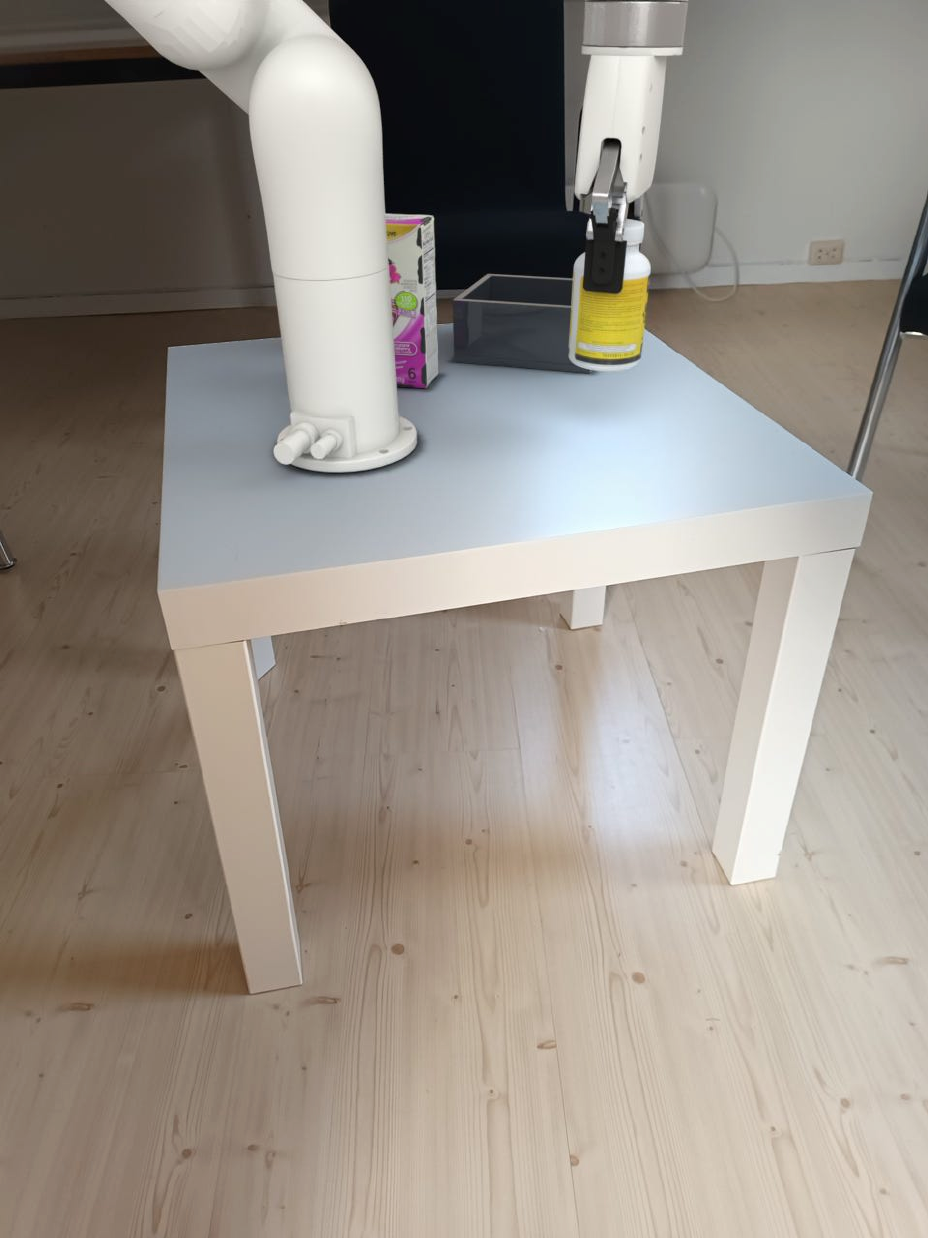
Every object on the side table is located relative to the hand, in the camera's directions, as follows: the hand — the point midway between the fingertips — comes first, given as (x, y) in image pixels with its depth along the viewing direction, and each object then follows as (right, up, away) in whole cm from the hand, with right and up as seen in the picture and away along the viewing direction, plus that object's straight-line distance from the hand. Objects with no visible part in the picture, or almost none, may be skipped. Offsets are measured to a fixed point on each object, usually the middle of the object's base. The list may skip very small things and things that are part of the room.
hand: (611, 279), depth 78 cm
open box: (-4, +2, +29) cm, 29 cm away
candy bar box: (-21, -3, +21) cm, 30 cm away
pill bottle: (0, -6, +4) cm, 7 cm away
